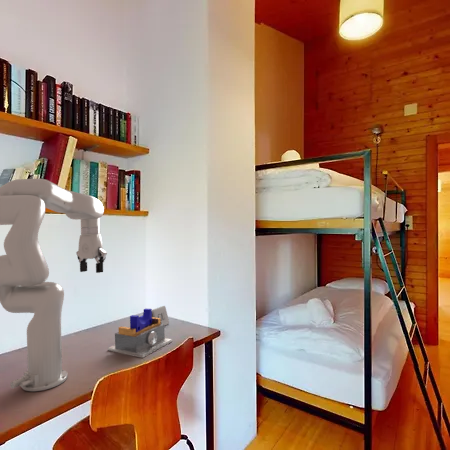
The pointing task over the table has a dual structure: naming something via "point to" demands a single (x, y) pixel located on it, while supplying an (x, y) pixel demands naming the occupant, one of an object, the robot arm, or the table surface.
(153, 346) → the motor housing
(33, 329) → the robot arm
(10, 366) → the table surface
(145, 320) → the blue u-shaped block
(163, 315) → the electrical switch
